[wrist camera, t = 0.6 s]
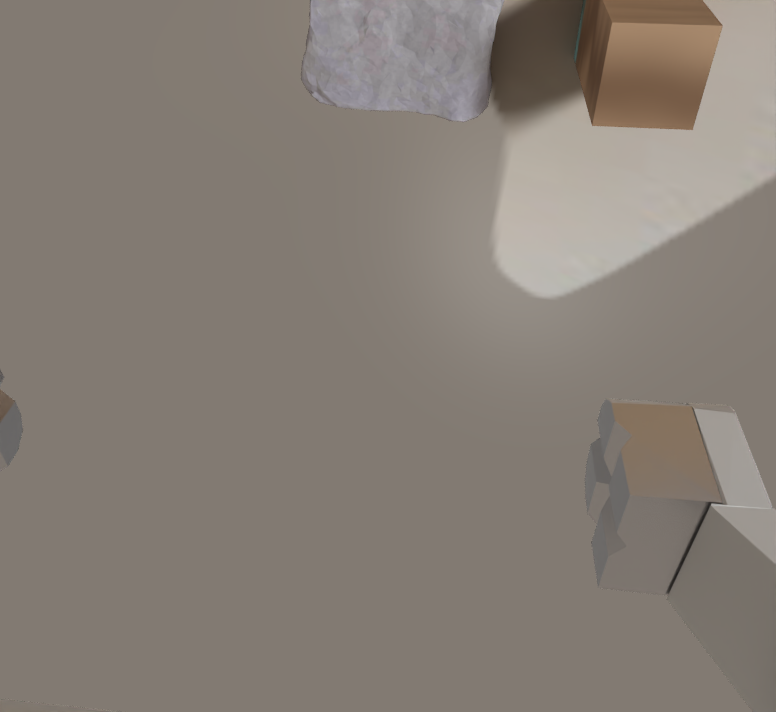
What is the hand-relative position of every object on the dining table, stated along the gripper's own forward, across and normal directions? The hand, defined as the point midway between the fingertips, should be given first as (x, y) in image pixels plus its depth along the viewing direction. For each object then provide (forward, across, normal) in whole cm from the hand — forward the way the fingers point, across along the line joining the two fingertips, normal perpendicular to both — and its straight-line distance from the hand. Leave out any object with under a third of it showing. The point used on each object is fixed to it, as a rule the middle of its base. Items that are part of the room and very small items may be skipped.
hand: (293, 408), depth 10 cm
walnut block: (+40, -11, +5) cm, 42 cm away
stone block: (+40, +2, +6) cm, 41 cm away
